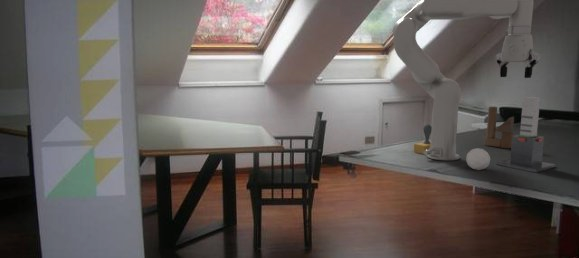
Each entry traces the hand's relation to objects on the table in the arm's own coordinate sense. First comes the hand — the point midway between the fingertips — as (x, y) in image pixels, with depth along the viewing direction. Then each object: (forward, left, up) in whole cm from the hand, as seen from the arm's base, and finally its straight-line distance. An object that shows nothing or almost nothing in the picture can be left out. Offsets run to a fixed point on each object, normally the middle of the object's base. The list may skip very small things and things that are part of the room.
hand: (515, 77), depth 161 cm
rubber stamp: (-15, +27, -33) cm, 45 cm away
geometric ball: (-25, -3, -32) cm, 41 cm away
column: (-6, -10, -25) cm, 27 cm away
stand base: (-6, -10, -32) cm, 34 cm away
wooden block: (+21, +16, -32) cm, 42 cm away
